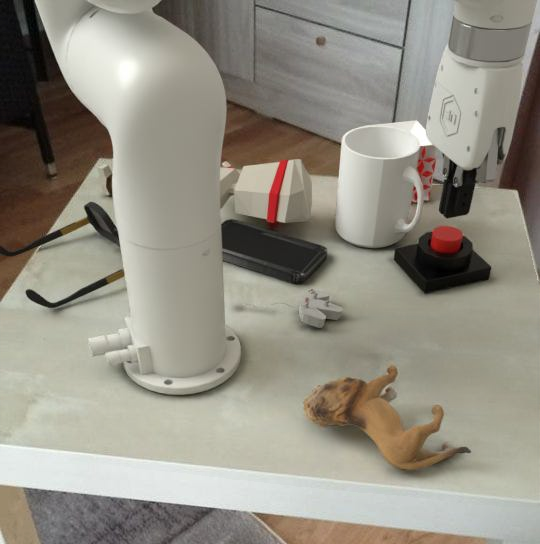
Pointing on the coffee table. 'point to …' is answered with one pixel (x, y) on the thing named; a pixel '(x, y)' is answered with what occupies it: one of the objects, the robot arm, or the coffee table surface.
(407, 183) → the mug
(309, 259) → the phone
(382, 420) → the lion figurine
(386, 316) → the coffee table surface
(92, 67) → the robot arm
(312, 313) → the game controller
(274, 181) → the toy
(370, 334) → the coffee table surface
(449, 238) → the button
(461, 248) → the button box
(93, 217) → the sunglasses
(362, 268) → the coffee table surface
